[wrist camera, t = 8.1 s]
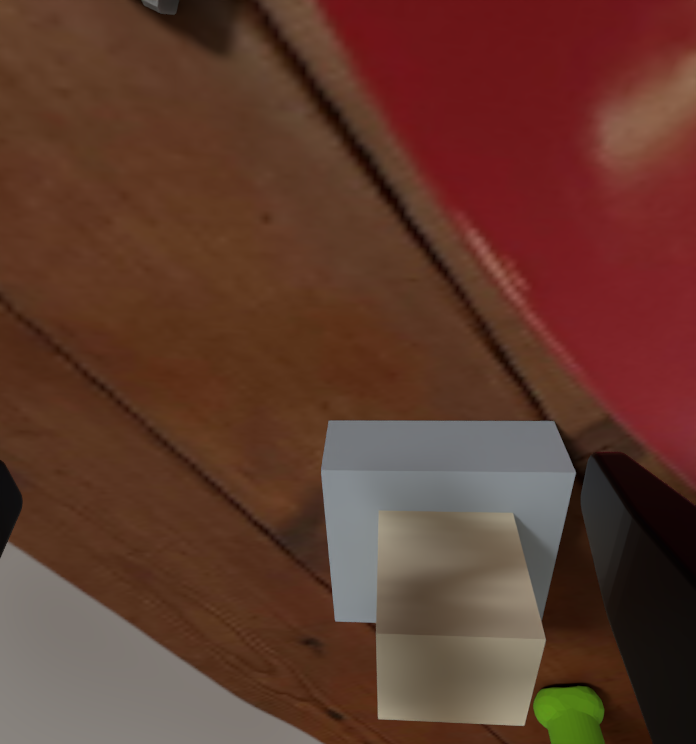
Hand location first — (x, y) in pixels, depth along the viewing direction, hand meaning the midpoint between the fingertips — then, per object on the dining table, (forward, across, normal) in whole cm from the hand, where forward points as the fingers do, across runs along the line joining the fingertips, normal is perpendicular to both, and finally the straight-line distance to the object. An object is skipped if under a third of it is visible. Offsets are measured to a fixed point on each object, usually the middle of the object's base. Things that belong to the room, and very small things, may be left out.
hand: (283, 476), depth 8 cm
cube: (+9, -3, +12) cm, 15 cm away
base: (+12, -3, +12) cm, 17 cm away
